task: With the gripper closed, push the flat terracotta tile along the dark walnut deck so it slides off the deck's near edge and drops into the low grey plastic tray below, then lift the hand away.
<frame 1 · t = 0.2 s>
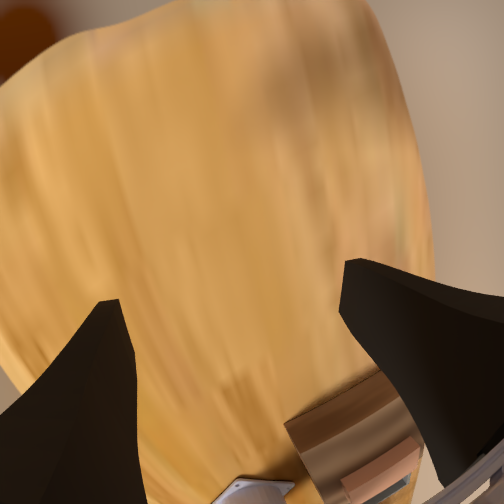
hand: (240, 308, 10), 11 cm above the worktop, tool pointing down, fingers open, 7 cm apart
deck: (359, 436, 30), on the worktop
tray: (367, 484, 35), on the worktop
tile: (377, 469, 27), point 4 cm above the worktop, touching deck
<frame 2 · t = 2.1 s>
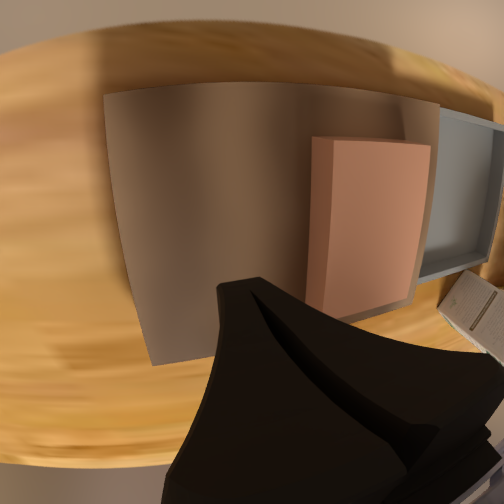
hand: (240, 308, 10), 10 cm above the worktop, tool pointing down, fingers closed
deck: (280, 205, 19), on the worktop
tray: (449, 192, 23), on the worktop
tile: (358, 220, 16), point 4 cm above the worktop, touching deck
syrup box: (456, 296, 30), on the worktop
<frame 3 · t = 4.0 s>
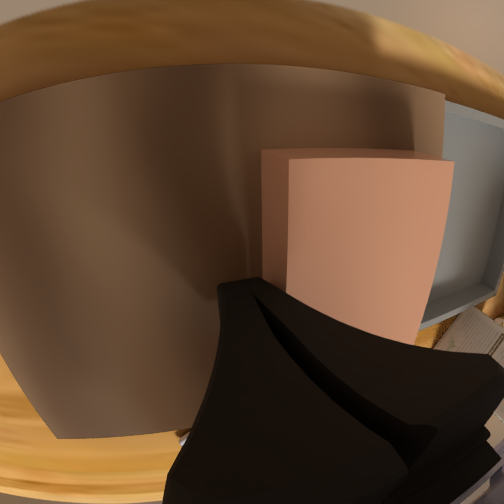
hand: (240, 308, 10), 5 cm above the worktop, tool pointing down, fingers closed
deck: (205, 246, 14), on the worktop
tray: (453, 214, 18), on the worktop
tile: (340, 273, 11), point 4 cm above the worktop, touching gripper
syrup box: (456, 333, 25), on the worktop
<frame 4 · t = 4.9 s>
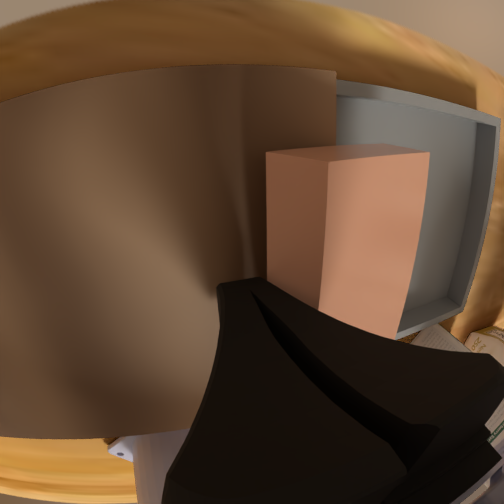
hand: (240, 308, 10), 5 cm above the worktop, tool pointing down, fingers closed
deck: (88, 264, 12), on the worktop
tray: (399, 221, 16), on the worktop
juice carton: (468, 352, 28), on the worktop
tile: (330, 272, 11), point 4 cm above the worktop, tilted 21°, touching deck
syrup box: (419, 351, 23), on the worktop
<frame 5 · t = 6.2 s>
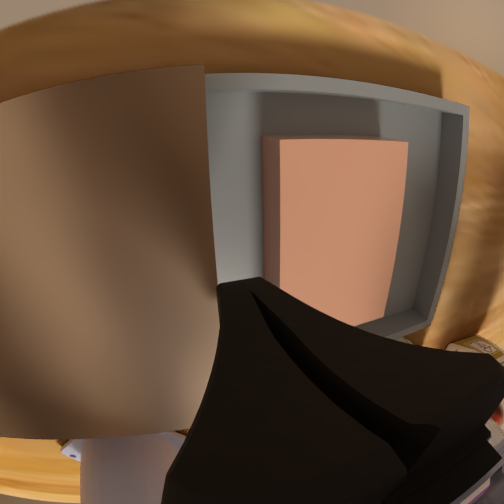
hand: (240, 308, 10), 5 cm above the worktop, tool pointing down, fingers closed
deck: (15, 276, 11), on the worktop
tray: (342, 227, 15), on the worktop
juice carton: (447, 363, 27), on the worktop
tile: (346, 247, 13), point 2 cm above the worktop, tilted 180°, touching tray
syrup box: (385, 364, 22), on the worktop
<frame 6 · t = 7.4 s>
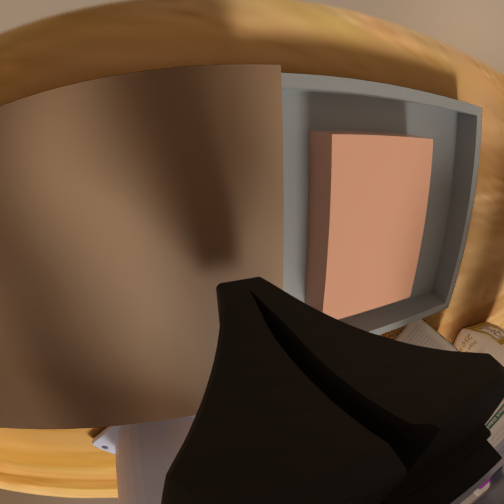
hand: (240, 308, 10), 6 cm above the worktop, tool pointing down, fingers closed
deck: (62, 262, 13), on the worktop
tray: (373, 215, 17), on the worktop
juice carton: (459, 348, 28), on the worktop
tile: (382, 231, 14), point 2 cm above the worktop, tilted 180°, touching tray
syrup box: (405, 347, 24), on the worktop
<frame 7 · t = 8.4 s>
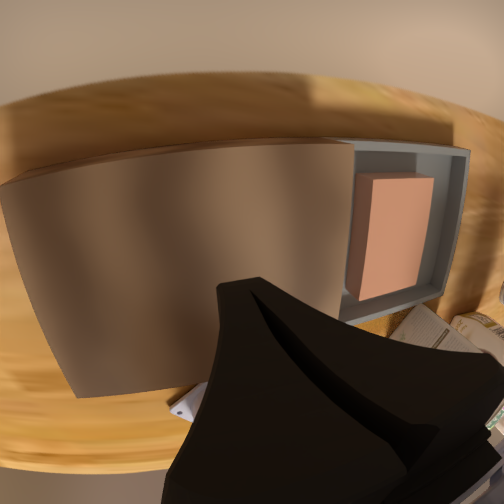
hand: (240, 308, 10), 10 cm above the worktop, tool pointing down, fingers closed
deck: (184, 258, 20), on the worktop
tray: (391, 227, 24), on the worktop
juice carton: (454, 333, 35), on the worktop
tile: (399, 239, 21), point 2 cm above the worktop, tilted 180°, touching tray
syrup box: (411, 327, 31), on the worktop
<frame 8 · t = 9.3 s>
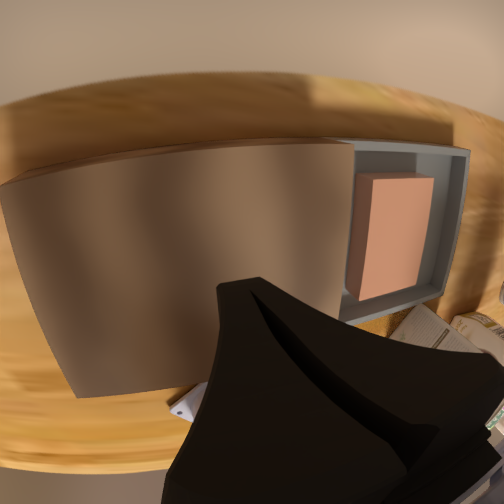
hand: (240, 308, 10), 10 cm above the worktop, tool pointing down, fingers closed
deck: (184, 258, 20), on the worktop
tray: (391, 227, 24), on the worktop
juice carton: (454, 333, 35), on the worktop
tile: (399, 239, 21), point 2 cm above the worktop, tilted 180°, touching tray
syrup box: (411, 327, 31), on the worktop
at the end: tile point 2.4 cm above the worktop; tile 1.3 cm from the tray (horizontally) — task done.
